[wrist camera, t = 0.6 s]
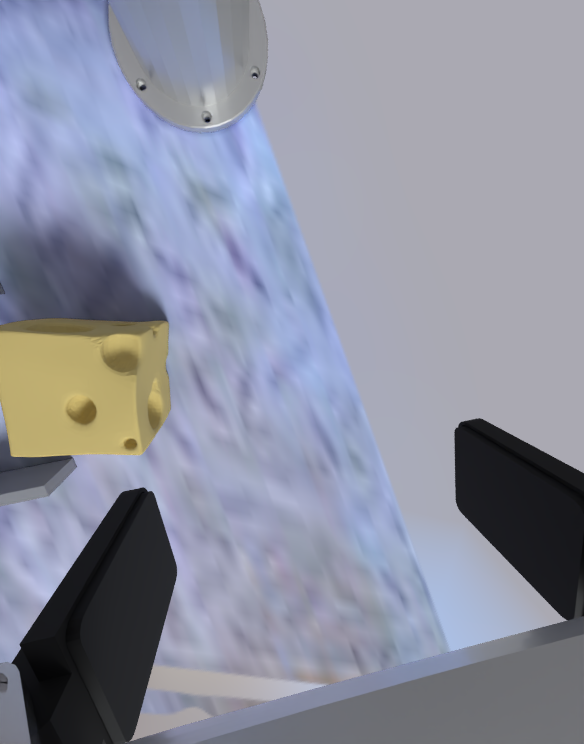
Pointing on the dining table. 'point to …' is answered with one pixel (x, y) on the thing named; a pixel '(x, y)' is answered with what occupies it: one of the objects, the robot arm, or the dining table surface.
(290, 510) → the dining table surface
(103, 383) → the cheese
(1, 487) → the bin
